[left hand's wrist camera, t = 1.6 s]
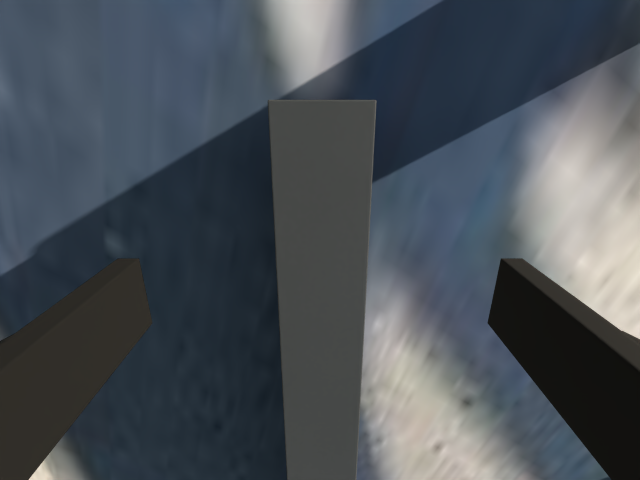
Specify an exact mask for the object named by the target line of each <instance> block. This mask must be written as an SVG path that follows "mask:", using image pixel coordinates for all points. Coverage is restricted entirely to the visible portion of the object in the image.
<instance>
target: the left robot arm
mask: <svg viewBox="0 0 640 480" xmlns="http://www.w3.org/2000/svg"><path fill="white" fill-rule="evenodd" d="M151 324H152V319H151V314H150V309H149V305H148V300H147V295H146V290H145V285H144V280H143V276H142V271H141V266H140V261H139V259H117V260H115V261H114V262H112V263H111V264H110V265H108V266H107V267H106V268H104V269H103V270H102V271H100V272H99V273H97V274H96V275H95V276H93V277H92V278H91V279H89V280H88V281H86V282H85V283H84V284H82V285H81V286H80V287H78V288H77V289H75V290H74V291H73V292H71V293H70V294H69V295H67V296H66V297H64V298H63V299H62V300H60V301H59V302H58V303H56V304H55V305H53V306H52V307H51V308H49V309H48V310H47V311H45V312H44V313H43V314H41V315H40V316H38V317H37V318H36V319H34V320H33V321H32V322H30V323H29V324H27V325H26V326H25V327H23V328H22V329H21V330H19V331H18V332H16V333H15V334H13V335H11V336H9V337H7V338H5V339H3V340H1V341H0V480H29V478H30V477H31V476H32V474H33V473H34V472H35V471H36V469H37V468H38V467H39V466H40V464H41V463H42V462H43V461H44V459H45V458H46V457H47V456H48V454H49V453H50V452H51V450H52V449H53V448H54V447H55V445H56V444H57V443H58V442H59V440H60V439H61V438H62V437H63V435H64V434H65V433H66V432H67V430H68V429H69V428H70V426H71V425H72V424H73V423H74V421H75V420H76V419H77V418H78V416H79V415H80V414H81V413H82V411H83V410H84V409H85V408H86V406H87V405H88V404H89V402H90V401H91V400H92V399H93V397H94V396H95V395H96V394H97V392H98V391H99V390H100V389H101V387H102V386H103V385H104V383H105V382H106V381H107V380H108V378H109V377H110V376H111V375H112V373H113V372H114V371H115V370H116V368H117V367H118V366H119V365H120V363H121V362H122V361H123V359H124V358H125V357H126V356H127V354H128V353H129V352H130V351H131V349H132V348H133V347H134V346H135V344H136V343H137V342H138V341H139V339H140V338H141V337H142V335H143V334H144V333H145V332H146V330H147V329H148V328H149V327H150V325H151ZM488 324H489V325H490V327H491V328H492V329H493V330H494V332H495V333H496V334H497V335H498V337H499V338H500V339H501V341H502V342H503V343H504V344H505V346H506V347H507V348H508V349H509V351H510V352H511V353H512V354H513V356H514V357H515V358H516V359H517V361H518V362H519V363H520V365H521V366H522V367H523V368H524V370H525V371H526V372H527V373H528V375H529V376H530V377H531V378H532V380H533V381H534V382H535V383H536V385H537V386H538V387H539V389H540V390H541V391H542V392H543V394H544V395H545V396H546V397H547V399H548V400H549V401H550V402H551V404H552V405H553V406H554V408H555V409H556V410H557V411H558V413H559V414H560V415H561V416H562V418H563V419H564V420H565V421H566V423H567V424H568V425H569V426H570V428H571V429H572V430H573V432H574V433H575V434H576V435H577V437H578V438H579V439H580V440H581V442H582V443H583V444H584V445H585V447H586V448H587V449H588V450H589V452H590V453H591V454H592V456H593V457H594V458H595V459H596V461H597V462H598V463H599V464H600V466H601V467H602V468H603V469H604V471H605V472H606V473H607V474H608V476H609V477H610V478H611V480H640V339H638V338H636V337H634V336H632V335H630V334H628V333H626V332H624V331H621V330H619V329H618V328H617V327H615V326H614V325H613V324H611V323H610V322H608V321H607V320H606V319H604V318H603V317H602V316H600V315H599V314H597V313H596V312H595V311H593V310H592V309H591V308H589V307H588V306H587V305H585V304H584V303H582V302H581V301H580V300H578V299H577V298H576V297H574V296H573V295H571V294H570V293H569V292H567V291H566V290H565V289H563V288H562V287H560V286H559V285H558V284H556V283H555V282H554V281H552V280H551V279H549V278H548V277H547V276H545V275H544V274H543V273H541V272H540V271H538V270H537V269H536V268H534V267H533V266H532V265H530V264H529V263H528V262H526V261H525V260H523V259H501V261H500V266H499V271H498V276H497V280H496V285H495V290H494V295H493V300H492V305H491V309H490V314H489V319H488Z"/></svg>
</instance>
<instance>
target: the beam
mask: <svg viewBox="0 0 640 480" xmlns="http://www.w3.org/2000/svg"><path fill="white" fill-rule="evenodd" d="M268 115H269V135H270V154H271V174H272V193H273V213H274V232H275V252H276V271H277V291H278V310H279V330H280V349H281V369H282V388H283V408H284V427H285V447H286V467H287V480H356V472H357V454H358V435H359V416H360V398H361V379H362V360H363V342H364V323H365V305H366V286H367V267H368V249H369V230H370V211H371V193H372V174H373V155H374V137H375V118H376V100H268Z"/></svg>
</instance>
